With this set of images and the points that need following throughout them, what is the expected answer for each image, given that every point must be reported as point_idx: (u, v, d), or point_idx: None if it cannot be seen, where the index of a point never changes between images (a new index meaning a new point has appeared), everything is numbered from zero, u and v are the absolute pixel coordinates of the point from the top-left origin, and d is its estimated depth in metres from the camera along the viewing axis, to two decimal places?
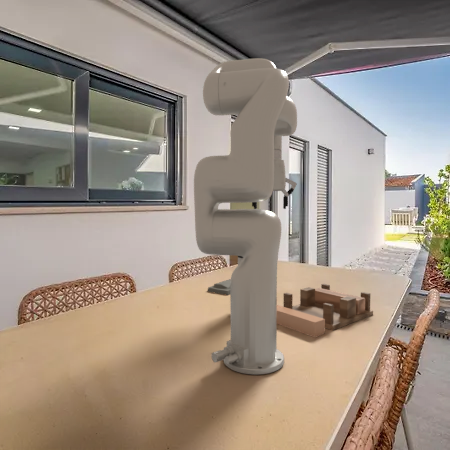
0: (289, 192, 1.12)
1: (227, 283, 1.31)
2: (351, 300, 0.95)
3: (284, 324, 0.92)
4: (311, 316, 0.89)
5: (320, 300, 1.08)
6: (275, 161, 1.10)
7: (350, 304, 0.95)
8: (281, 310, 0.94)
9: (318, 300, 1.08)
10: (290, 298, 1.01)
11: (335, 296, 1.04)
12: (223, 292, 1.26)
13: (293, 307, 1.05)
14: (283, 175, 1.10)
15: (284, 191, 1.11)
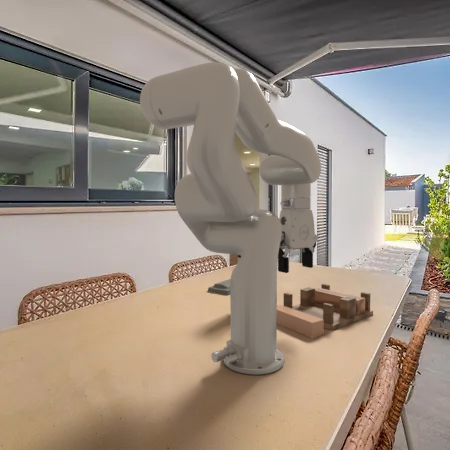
0: (313, 247, 0.94)
1: (227, 283, 1.31)
2: (351, 300, 0.95)
3: (284, 324, 0.92)
4: (310, 316, 0.89)
5: (320, 300, 1.08)
6: (308, 212, 0.90)
7: (350, 304, 0.95)
8: (282, 310, 0.94)
9: (318, 300, 1.08)
10: (290, 298, 1.01)
11: (335, 296, 1.04)
12: (224, 292, 1.26)
13: (293, 307, 1.05)
14: (314, 228, 0.92)
15: (311, 247, 0.93)
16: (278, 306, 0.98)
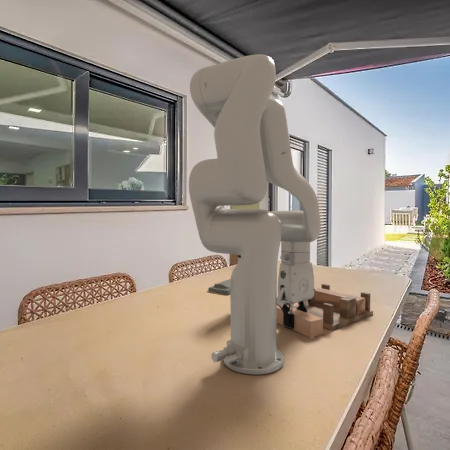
0: (307, 303, 0.94)
1: (227, 283, 1.31)
2: (351, 300, 0.95)
3: None
4: (310, 315, 0.88)
5: (320, 300, 1.08)
6: (308, 265, 0.90)
7: (350, 304, 0.95)
8: None
9: (318, 300, 1.08)
10: None
11: (335, 296, 1.04)
12: (224, 292, 1.26)
13: (293, 307, 1.05)
14: (313, 280, 0.92)
15: (306, 302, 0.93)
16: None
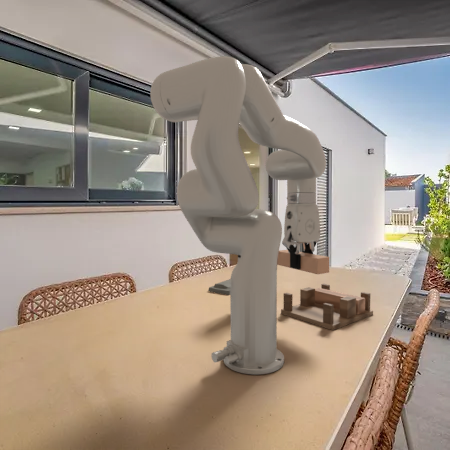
0: None
1: (228, 283, 1.31)
2: (351, 300, 0.95)
3: None
4: (316, 255, 0.90)
5: (320, 300, 1.08)
6: (314, 206, 0.91)
7: (350, 304, 0.95)
8: None
9: (318, 300, 1.08)
10: (290, 298, 1.01)
11: (335, 296, 1.04)
12: (224, 292, 1.26)
13: (293, 307, 1.05)
14: (319, 223, 0.93)
15: (312, 245, 0.94)
16: (285, 250, 0.99)
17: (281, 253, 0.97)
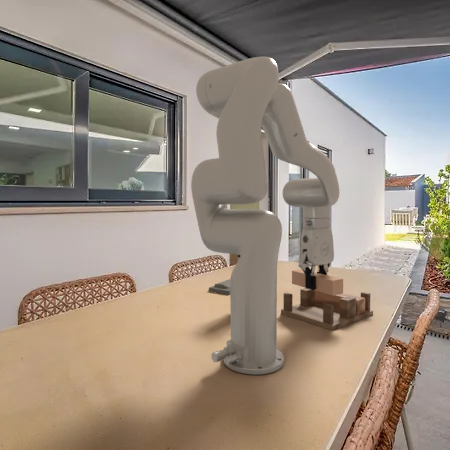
0: None
1: (228, 283, 1.31)
2: (351, 300, 0.95)
3: None
4: (330, 277, 0.95)
5: (320, 300, 1.08)
6: (328, 230, 0.97)
7: (350, 304, 0.95)
8: (303, 272, 1.01)
9: (318, 300, 1.08)
10: (290, 298, 1.01)
11: (335, 296, 1.04)
12: (224, 292, 1.26)
13: (293, 307, 1.05)
14: None
15: (326, 266, 0.99)
16: (300, 270, 1.05)
17: (296, 273, 1.03)
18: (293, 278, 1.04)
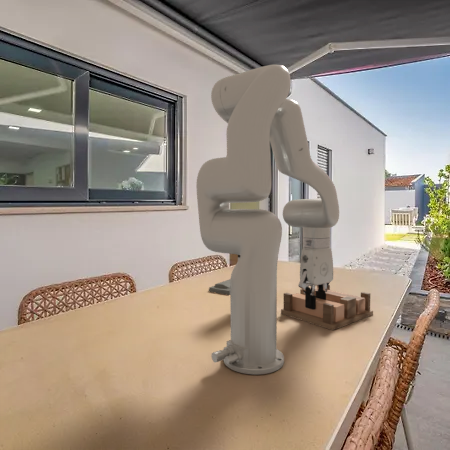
0: None
1: (228, 283, 1.31)
2: (351, 300, 0.95)
3: (305, 310, 0.99)
4: (331, 302, 0.96)
5: None
6: (327, 250, 0.97)
7: (350, 304, 0.95)
8: (302, 297, 1.01)
9: None
10: (290, 298, 1.01)
11: (335, 296, 1.04)
12: (225, 292, 1.26)
13: None
14: (332, 265, 0.99)
15: (325, 286, 0.99)
16: (297, 294, 1.04)
17: (294, 298, 1.02)
18: None
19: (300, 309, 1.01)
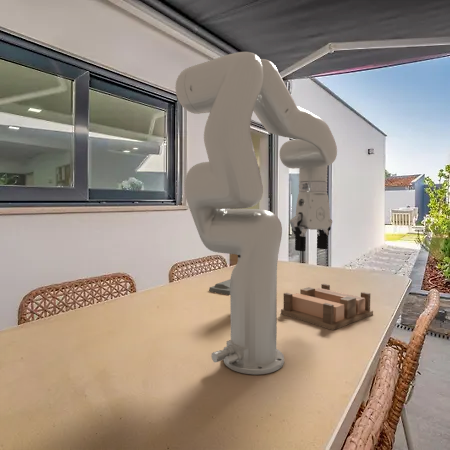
0: None
1: (228, 283, 1.31)
2: (351, 300, 0.95)
3: (305, 310, 0.99)
4: (331, 302, 0.96)
5: None
6: (324, 195, 0.96)
7: (350, 304, 0.95)
8: (302, 297, 1.01)
9: None
10: (290, 298, 1.01)
11: (335, 296, 1.04)
12: (225, 292, 1.26)
13: None
14: (329, 212, 0.97)
15: (326, 229, 0.99)
16: (297, 294, 1.04)
17: (294, 298, 1.02)
18: None
19: (300, 309, 1.01)
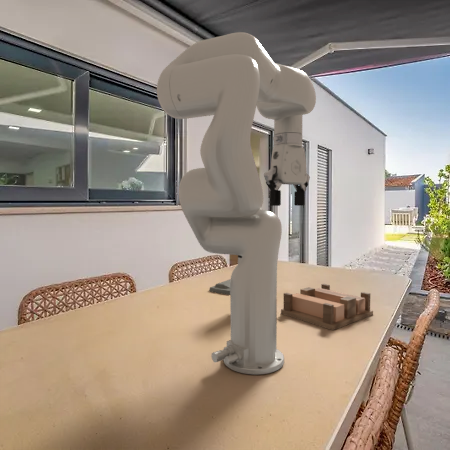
0: (305, 186, 0.97)
1: (229, 283, 1.31)
2: (351, 300, 0.95)
3: (305, 310, 0.99)
4: (331, 302, 0.96)
5: None
6: (300, 149, 0.92)
7: (350, 304, 0.95)
8: (302, 297, 1.01)
9: None
10: (290, 298, 1.01)
11: (335, 296, 1.04)
12: (225, 292, 1.26)
13: None
14: (305, 166, 0.94)
15: (303, 185, 0.96)
16: (297, 294, 1.04)
17: (294, 298, 1.02)
18: None
19: (300, 309, 1.01)
